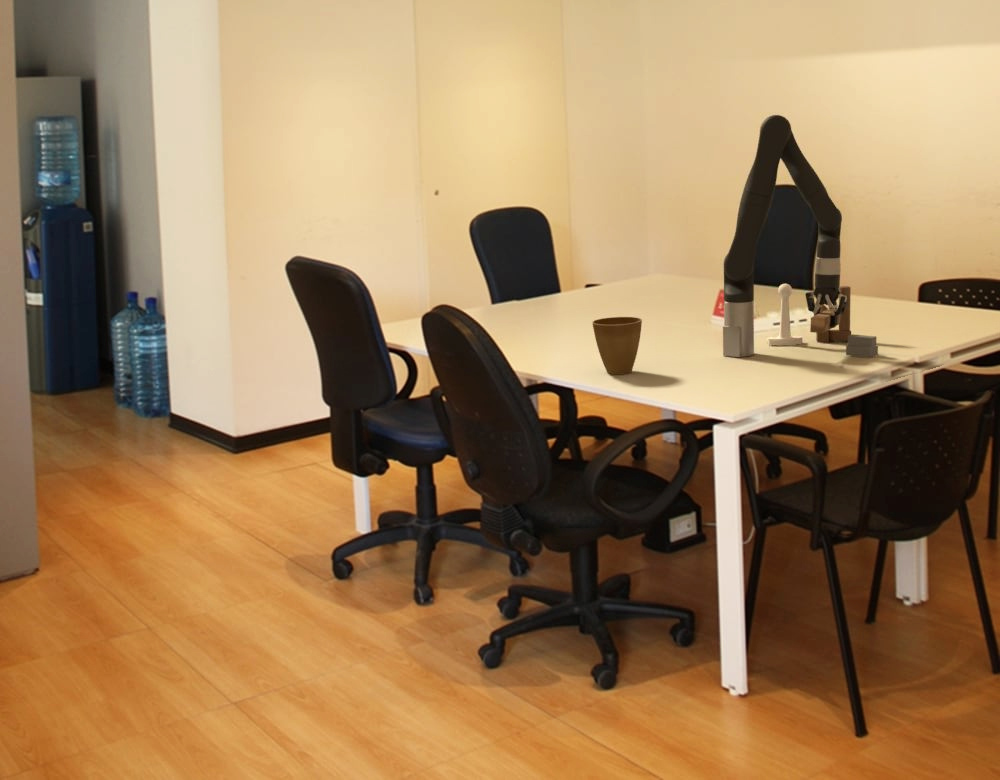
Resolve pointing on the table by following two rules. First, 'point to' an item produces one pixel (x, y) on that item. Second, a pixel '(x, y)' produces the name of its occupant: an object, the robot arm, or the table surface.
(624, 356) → the plant pot
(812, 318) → the walnut bar
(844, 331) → the brown rod with wedge
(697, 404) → the table surface
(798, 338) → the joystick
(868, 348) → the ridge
